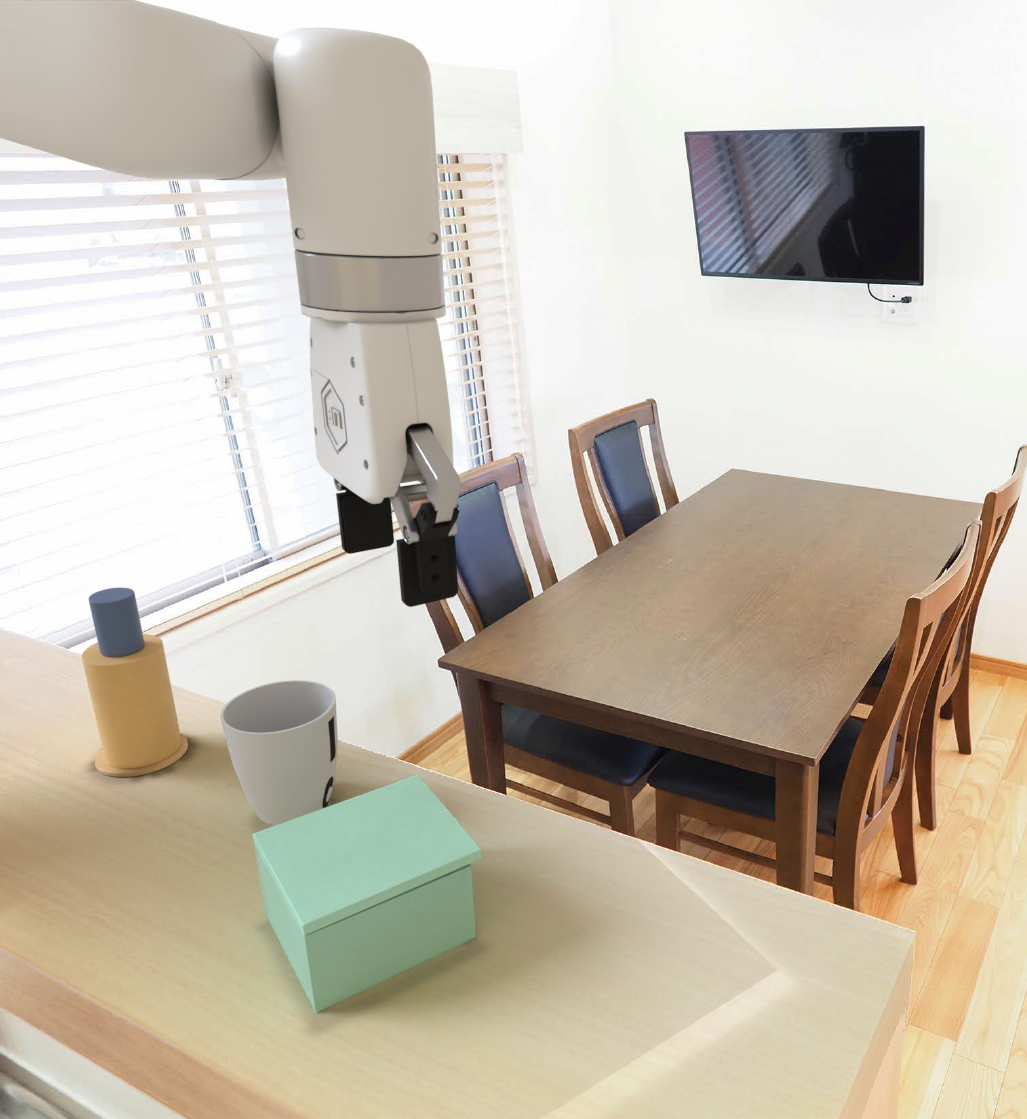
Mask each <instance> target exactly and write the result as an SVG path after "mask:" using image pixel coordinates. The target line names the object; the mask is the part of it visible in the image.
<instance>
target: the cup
mask: <svg viewBox="0 0 1027 1119" xmlns="http://www.w3.org/2000/svg"><path fill="white" fill-rule="evenodd" d="M219 716H220V717H219V718H220V722H221V725H222V730H223V733H224V737H225V741H226V744H227V748H228V752H229V755H230V760H231V763H232V767H233V769H234V770H235V774H236V777H237V778H238V782H239V783H240V786H241V788H242V791H243V793H244V796H245V798H246V800H247V802H248V803H249V805H250V806H251V808H252V809H253V812H254V813H255V814H256V816H257V817H258V819H260V820H261V821H262V822H263V823H266V824H268V825H271V826H272V825H273V826H275V825H278V824H281V823H284V822H287V821H289V820H292V819H295V818H298V817H300V816H303V815H306V814H309V813H312V812H314V811H317V810H320V809H323V808H325V807H328V806H330V802H331V799H332V795H333V791H334V788H335V783H336V775H337V762H338V760H337V759H338V748H339V736H338V735H339V734H338V719H337V718H338V717H337V699H336V694H335V691H334V690H333V689H332V688H331V687H329V686H327V685H325V684H323V683H320V682H317V681H312V680H303V679H301V680H300V679H295V680H293V679H291V680H281V681H274V682H270V683H266V684H261V685H259V686H255V687H253V688H250V689H248V690H245V691H243V692H241V693H239V694H238V695H236V696H234V697H233V698H231V699H230V700H229V701H227V703H226V704H225V705H224V706H223V707H222V710H221V711H220V715H219Z"/></svg>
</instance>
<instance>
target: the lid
mask: <svg viewBox="0 0 1027 1119" xmlns="http://www.w3.org/2000/svg"><path fill="white" fill-rule="evenodd" d="M252 839H253V843H254V844H255V845H256V847H257V849H258V851H259V853H260V855H261V857H262V858H263V860H264V862H265V864H266V866H267V868H268V869H269V871H270V873H271V875H272V877H273V879H274V881H275V882H276V884H277V886H278V888H279V890H280V892H281V894H282V895H283V897H284V899H285V901H286V903H287V905H288V906H289V908H290V910H291V912H292V914H293V916H294V918H295V919H296V921H297V923H298V925H299V927H300V929H301V931H302V932H303V934H304V935H307V934H309V933H312V932H314V931H316V930H319V929H321V928H323V927H325V926H328V925H330V924H332V923H335V922H337V921H339V920H342V919H344V918H346V917H348V916H351V915H353V914H355V913H358V912H360V911H362V910H365V909H367V908H369V907H372V906H374V905H376V904H378V903H381V902H383V901H385V900H388V899H390V898H392V897H395V896H397V895H399V894H401V893H404V892H406V891H408V890H411V889H413V888H415V887H418V886H420V885H422V884H424V883H427V882H429V881H431V880H434V879H436V878H438V877H441V876H443V875H445V874H447V873H450V872H452V871H454V870H457V869H459V868H461V867H464V866H466V865H468V864H470V865H471V864H472V863H475V862H478V861H479V860H482V859H483V849H482V848H481V846H480V845H479V844H478V843H477V842H476V841H475V839H474V838H473V837H472V836H471V835H470V833H469V832H468V831H467V830H466V829H465V828H464V826H463V825H462V824H461V823H460V822H459V821H458V820H457V818H456V816H454V815H453V813H452V812H451V811H450V810H449V808H447V806H446V805H445V804H444V803H443V801H442V800H440V798H439V797H438V796H437V795H436V793H434V791H433V790H432V789H431V787H430V786H429V785H428V784H427V783H426V782H425V781H424V779H423V778H422V777H421V776H420V775H419V774H414V775H411V776H409V777H407V778H403V779H401V780H398V781H395V782H392V783H389V784H387V785H384V786H381V787H379V788H376V789H373V790H369V791H368V792H364V793H362V794H359V795H356V796H353V797H350V798H348V799H345V800H342V801H339V802H337V803H333V804H330V805H328V806H327V807H325V808H323V809H320V810H317V811H314V812H312V813H309V814H306V815H303V816H300V817H298V818H295V819H292V820H289V821H287V822H284V823H281V824H278V825H273V826H270V827H268V828H264V829H262V830H259V831H256V832H254V833H252Z"/></svg>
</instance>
